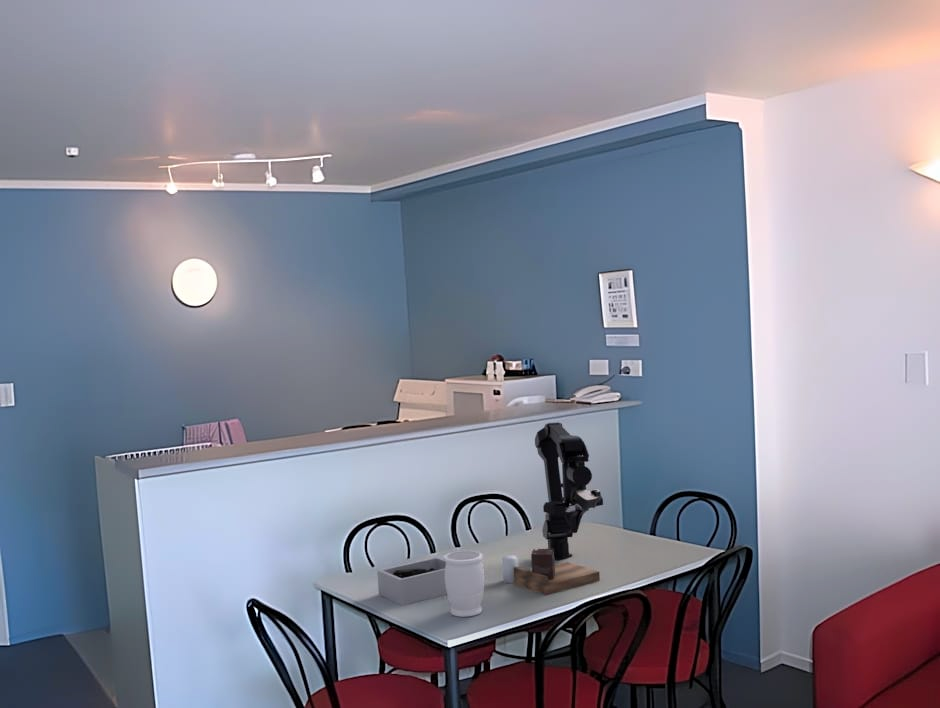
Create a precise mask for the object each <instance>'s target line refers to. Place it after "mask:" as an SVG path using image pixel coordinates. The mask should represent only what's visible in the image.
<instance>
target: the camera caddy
mask: <svg viewBox="0 0 940 708" xmlns="http://www.w3.org/2000/svg"><path fill="white" fill-rule="evenodd" d="M445 566H446V562H445V561H444V558H441V557H439V556H434V557H431V558H425V559H422V560H417V561H413V562H409V563H405V564H399V565H395V566H390V567H386V568H382V569H377V570H376V571H377V586H378V588H377V589H378V595H379V596H380V597H382V598H385V599H387V600H389V601H391V602H392V603H395V604H398V605H399V606H401V607H403V606H406V605H409V604H414V603H417V602H422V601H427V600H429V599H430V600H431V599H433V598H437V597H441V596H446V595H447V591H446V586H445ZM420 568H421V569H426V570H429V569H430V568H434V570H435V569H439V570H436V571H432V572H428V573H423V574H419V575H415V576H410V577H406V578H399V577H397V576H394V575H393V573H394V572H395V571H396V570H407V569H420Z"/></svg>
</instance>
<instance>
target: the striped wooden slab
mask: <svg viewBox="0 0 940 708" xmlns="http://www.w3.org/2000/svg"><path fill="white" fill-rule="evenodd" d="M600 576H601V575H600V571H598V570H595V569H592V568H589V567H586V566H582V565H578V564H576V563H571V562H569V561H567V562H563V563H558V564H555V576H554V579H550V580H549V579H548V576H545V575H542V574H539V573H536V572H532V570H530V569H526V568H524V567H523V568H522V567H520V566H518V567H517V566H516V567H514V583H513V584H514V585H516V586H518V587H521V588H524V589H527V590H529V591H532V592H535V593H539V594H541V595H544V596H547V595H551V594H554V593H559V592H563V591H566V590H569V589H573V588H577V587H580V585H581V586H583V585H588V584H591V583H594V582H599V581H600V579H601V578H600Z"/></svg>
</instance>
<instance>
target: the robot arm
mask: <svg viewBox="0 0 940 708" xmlns="http://www.w3.org/2000/svg"><path fill="white" fill-rule="evenodd" d="M534 446H535V448H536V449H537V450H536V451H537V455H538V456H539V457H540V459H542V461H543V465H544V474H545V480H546V481H545V482H546V488H547V489H546V491H547V498H548V500H547V502H545V503H544V504H543V507H542V508H543V513H545V514H544V515H545V516H544V517H545V518H544V519H545V520H544V522H543V526H542V531H541V532H542V537H543V538H544V539H545V540H546V541H547V549H554V560H561V559H566V558H569V557H573V554H572V553H570V549H569V546H570V545H569V538H573V535H574V534H577V533H578V531H579V527H580V524H581V521H582V517H583V516H584V514H585V513H587V512H588V511H589V510H590V509H594V508H596V507H599V506H603V505H604V498H603V497H602V495H601V490H600V489H597V488H596V489H592V490H587V485H589V484H590V482H591V481H592V478H593V474H592V471H591V470H590V468H589V467H587V466H586V465H585V462H586V463H588V462H590V461H589V460H590V459H589V457H590V455H589V454H590V453H589V452H588V451H589V450H588V449H587V448H588V447H587V445H586V444H585V441H584V440H583V439H582V438H581V437H580V436H579V435H572V434H570V433H569V432H568V430H566V429H565V428H564V427H563V423H562V422H547V423H545V425H544V427H543V428H541V429H539V430H537V432H536V434H535V437H534ZM559 460H560V462H561V468H562V470H561V471H562V481H561V474H560V473H561V472H560V465H559Z"/></svg>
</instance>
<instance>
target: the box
mask: <svg viewBox="0 0 940 708" xmlns="http://www.w3.org/2000/svg"><path fill="white" fill-rule="evenodd" d="M530 556H531V557H530V558H531V559H530V560H531V561H530V562H531V571H532V572H536V573H539V574H542V575H545V576H548V579H549V580H550V579H554V576H555V565H556V564H555V559H554V549H548V548H534V549H532V551H531V554H530Z"/></svg>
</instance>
